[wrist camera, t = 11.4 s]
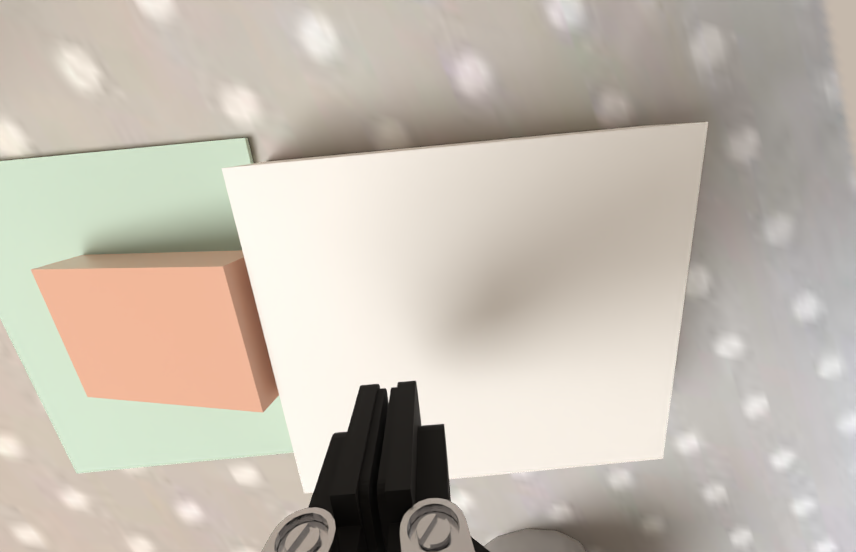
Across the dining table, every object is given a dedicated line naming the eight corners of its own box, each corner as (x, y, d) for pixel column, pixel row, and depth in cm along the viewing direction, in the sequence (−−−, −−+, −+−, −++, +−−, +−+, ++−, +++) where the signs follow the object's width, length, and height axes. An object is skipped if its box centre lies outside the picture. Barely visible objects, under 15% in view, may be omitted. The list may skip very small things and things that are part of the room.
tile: (259, 250, 15) (222, 266, 13) (290, 382, 17) (263, 412, 15) (82, 254, 17) (30, 269, 16) (128, 371, 19) (87, 397, 18)
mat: (247, 137, 16) (244, 137, 16) (317, 446, 22) (316, 450, 21) (-66, 167, 16) (-75, 168, 16) (81, 469, 22) (76, 473, 21)
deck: (641, 125, 17) (708, 122, 13) (618, 401, 21) (662, 458, 18) (265, 161, 17) (221, 168, 13) (323, 430, 21) (304, 493, 17)
